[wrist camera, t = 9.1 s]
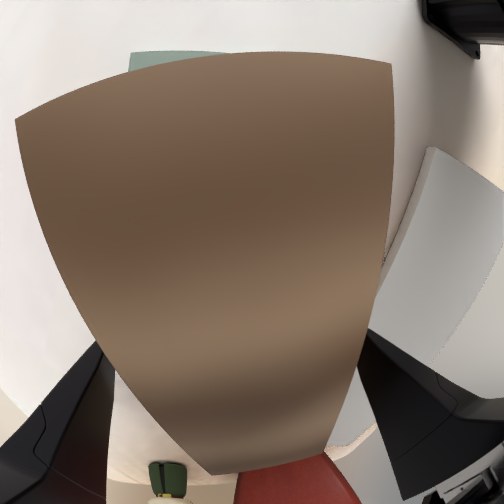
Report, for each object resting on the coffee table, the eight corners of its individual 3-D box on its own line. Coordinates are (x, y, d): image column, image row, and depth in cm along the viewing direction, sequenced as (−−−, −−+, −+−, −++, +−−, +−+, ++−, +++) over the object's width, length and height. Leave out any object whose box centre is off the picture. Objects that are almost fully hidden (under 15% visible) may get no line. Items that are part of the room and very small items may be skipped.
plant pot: (242, 479, 42) (257, 543, 27) (212, 459, 32) (229, 552, 17) (331, 455, 43) (355, 518, 28) (335, 428, 33) (372, 518, 18)
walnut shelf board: (299, 391, 15) (322, 453, 11) (203, 410, 14) (211, 475, 10) (299, 80, 7) (391, 64, 3) (102, 110, 6) (14, 119, 2)
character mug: (194, 457, 30) (205, 533, 19) (205, 468, 34) (215, 533, 23) (127, 457, 29) (129, 528, 18) (145, 469, 33) (149, 531, 22)
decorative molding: (277, 412, 32) (343, 418, 32) (276, 442, 27) (347, 446, 28) (404, 141, 17) (485, 187, 17) (436, 147, 12) (518, 203, 13)
